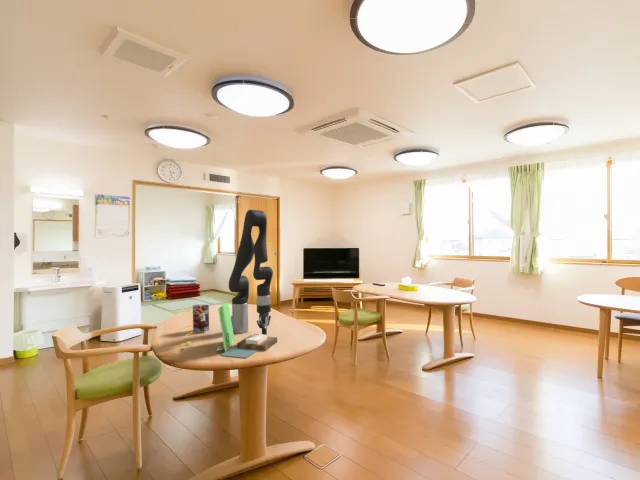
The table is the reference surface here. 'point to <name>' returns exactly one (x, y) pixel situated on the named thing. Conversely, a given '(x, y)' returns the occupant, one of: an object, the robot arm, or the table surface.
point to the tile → (256, 339)
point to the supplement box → (197, 324)
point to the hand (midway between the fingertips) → (264, 335)
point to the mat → (239, 352)
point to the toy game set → (225, 325)
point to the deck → (262, 346)
